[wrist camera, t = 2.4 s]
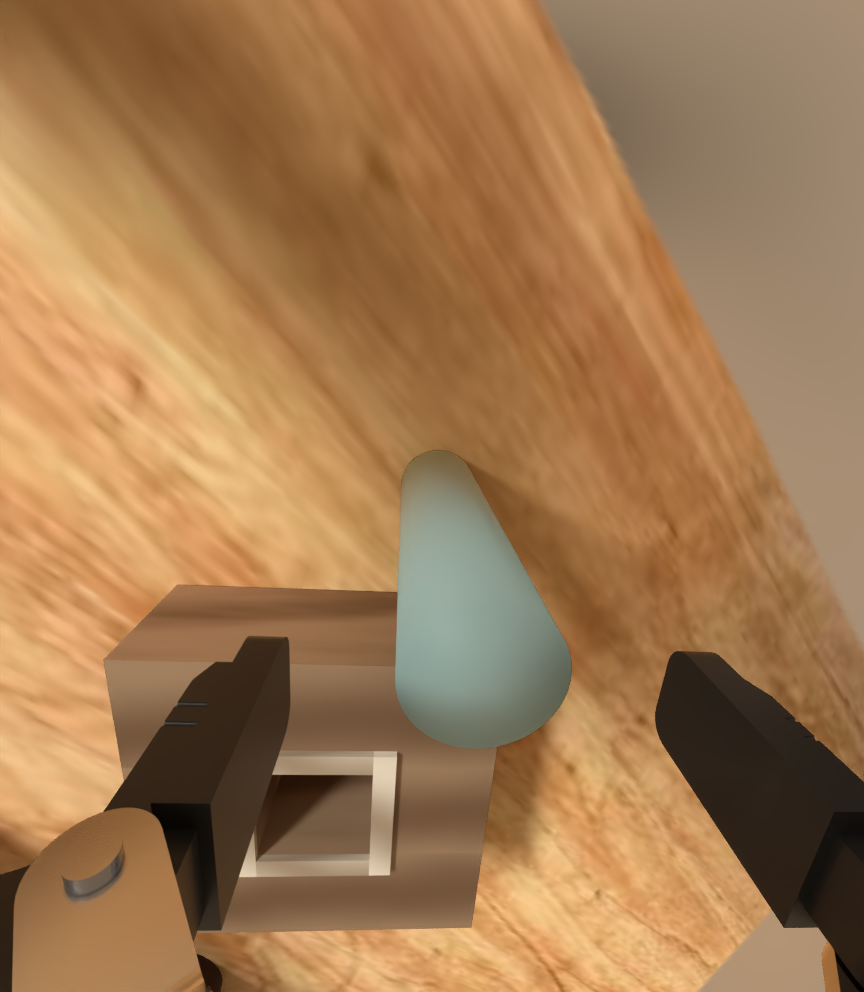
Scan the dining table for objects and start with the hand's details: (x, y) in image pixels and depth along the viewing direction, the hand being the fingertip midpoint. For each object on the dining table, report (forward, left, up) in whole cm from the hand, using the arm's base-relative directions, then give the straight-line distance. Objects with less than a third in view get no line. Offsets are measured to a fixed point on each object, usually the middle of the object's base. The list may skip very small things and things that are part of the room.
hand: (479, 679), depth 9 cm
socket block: (+14, -5, -14) cm, 20 cm away
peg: (0, 0, -14) cm, 14 cm away
